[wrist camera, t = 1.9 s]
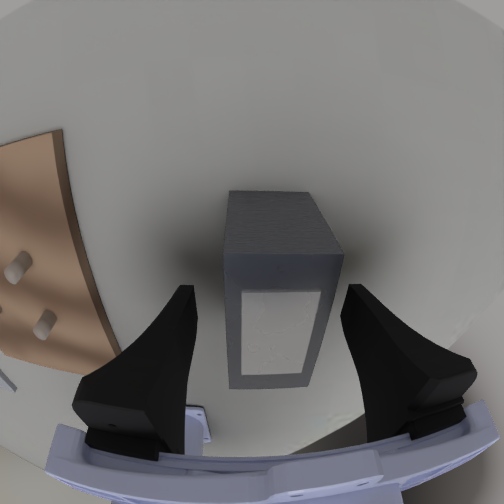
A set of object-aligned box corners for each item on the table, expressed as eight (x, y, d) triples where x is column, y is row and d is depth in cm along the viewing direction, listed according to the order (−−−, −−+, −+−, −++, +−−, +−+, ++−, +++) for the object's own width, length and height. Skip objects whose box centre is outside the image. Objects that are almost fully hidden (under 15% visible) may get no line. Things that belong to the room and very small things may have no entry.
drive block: (292, 309, 19) (308, 387, 14) (231, 310, 19) (229, 390, 13) (308, 192, 15) (345, 255, 9) (229, 190, 14) (222, 255, 9)
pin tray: (131, 373, 22) (123, 401, 20) (8, 348, 21) (-3, 368, 19) (61, 129, 12) (28, 141, 9) (-65, 172, 11) (-88, 187, 8)
